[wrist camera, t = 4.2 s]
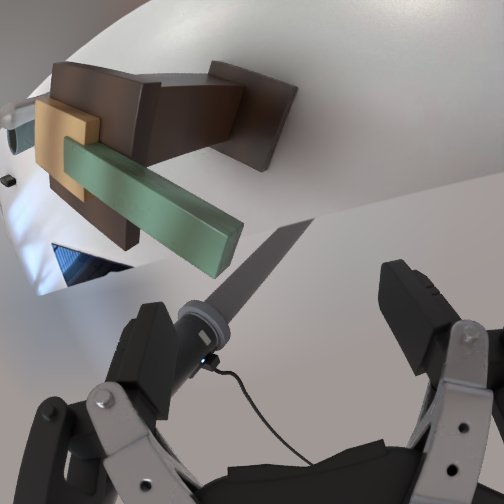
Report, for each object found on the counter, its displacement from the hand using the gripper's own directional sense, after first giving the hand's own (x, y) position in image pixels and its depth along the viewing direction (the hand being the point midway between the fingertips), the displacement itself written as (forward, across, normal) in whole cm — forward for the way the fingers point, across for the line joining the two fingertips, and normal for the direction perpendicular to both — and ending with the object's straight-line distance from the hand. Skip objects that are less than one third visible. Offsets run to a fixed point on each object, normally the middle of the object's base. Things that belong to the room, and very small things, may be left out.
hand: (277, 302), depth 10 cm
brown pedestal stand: (+32, 0, +5) cm, 33 cm away
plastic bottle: (+57, -40, +19) cm, 72 cm away
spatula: (+10, -9, +5) cm, 14 cm away
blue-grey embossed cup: (+63, -50, +16) cm, 82 cm away
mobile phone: (+91, -99, +6) cm, 134 cm away
